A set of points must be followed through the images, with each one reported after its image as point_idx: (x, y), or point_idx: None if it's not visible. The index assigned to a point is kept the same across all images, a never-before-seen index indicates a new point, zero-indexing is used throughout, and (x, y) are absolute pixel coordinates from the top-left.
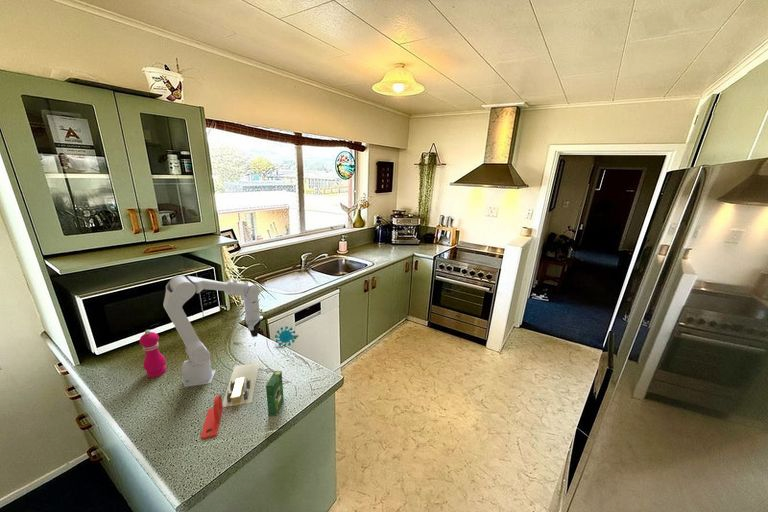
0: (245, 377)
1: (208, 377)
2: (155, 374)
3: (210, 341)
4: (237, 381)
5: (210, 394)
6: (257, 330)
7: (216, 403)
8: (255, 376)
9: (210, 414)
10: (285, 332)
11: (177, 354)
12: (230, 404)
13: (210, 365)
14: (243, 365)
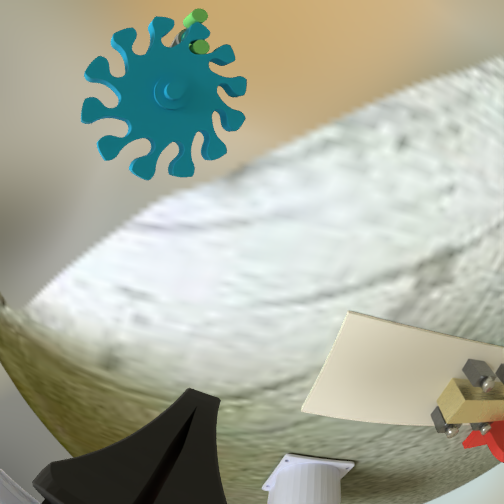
0: (417, 378)
1: (336, 475)
2: None
3: (89, 415)
4: (464, 418)
5: (405, 454)
6: (218, 466)
7: None
8: (441, 341)
9: (483, 439)
10: (138, 85)
11: None
12: None
13: (320, 502)
14: (321, 383)
